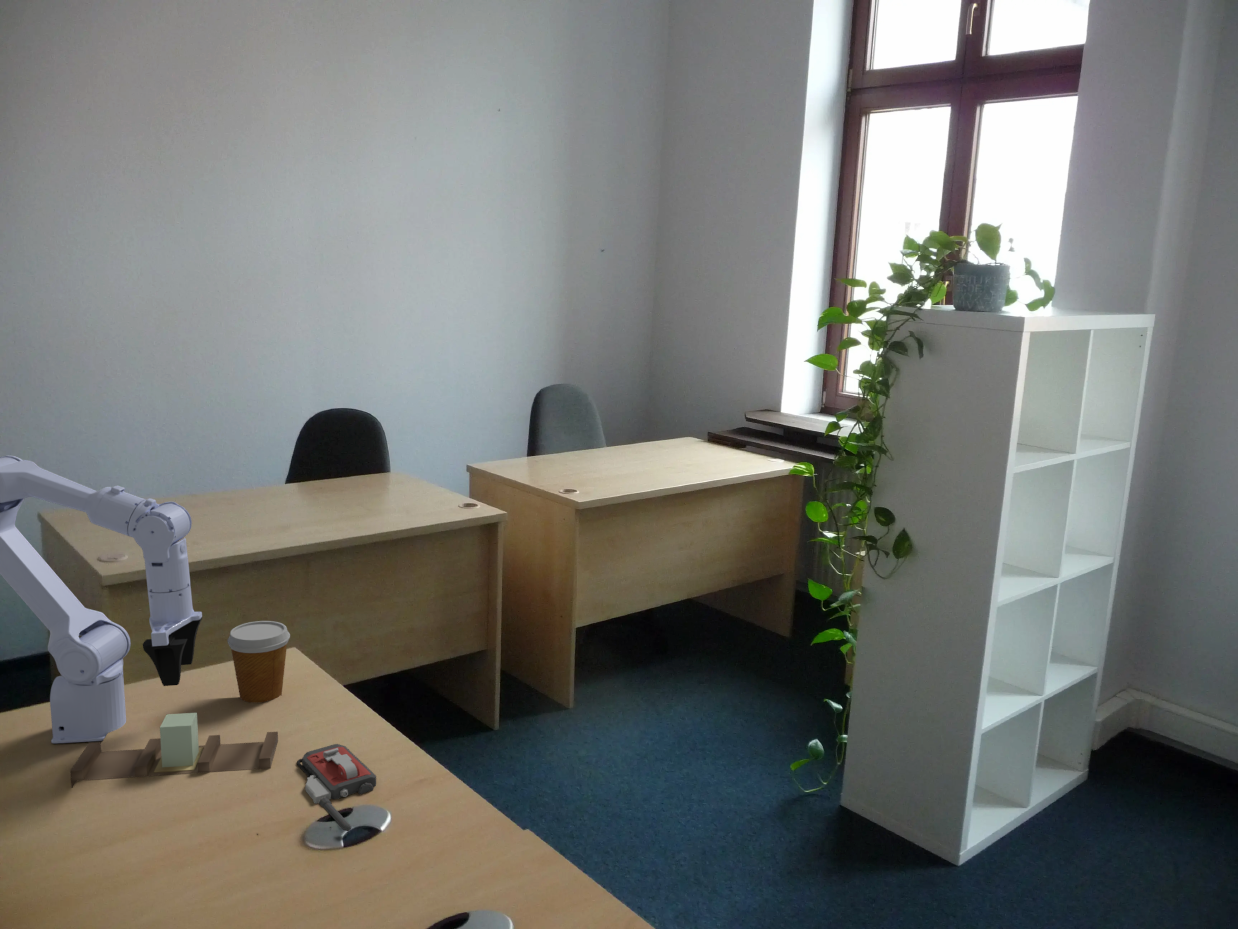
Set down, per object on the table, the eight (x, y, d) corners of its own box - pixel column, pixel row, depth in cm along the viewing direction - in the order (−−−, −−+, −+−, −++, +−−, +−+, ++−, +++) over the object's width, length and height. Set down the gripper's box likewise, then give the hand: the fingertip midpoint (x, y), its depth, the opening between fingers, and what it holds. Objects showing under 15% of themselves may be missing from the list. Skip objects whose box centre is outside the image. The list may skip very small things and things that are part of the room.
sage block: (162, 767, 135) (159, 727, 133) (168, 753, 138) (166, 714, 137) (193, 765, 135) (191, 725, 134) (198, 751, 139) (196, 712, 138)
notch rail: (71, 788, 131) (70, 770, 130) (90, 758, 138) (88, 742, 138) (270, 774, 136) (270, 758, 135) (278, 747, 144) (277, 731, 143)
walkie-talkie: (282, 775, 137) (340, 842, 121) (281, 746, 136) (339, 810, 121) (341, 757, 142) (404, 819, 127) (341, 729, 141) (404, 789, 126)
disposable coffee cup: (228, 692, 161) (225, 623, 159) (288, 684, 165) (286, 617, 163) (232, 716, 153) (228, 644, 150) (295, 707, 157) (293, 637, 154)
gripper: (185, 601, 135) (194, 692, 138) (209, 570, 149) (217, 653, 152) (131, 604, 134) (141, 696, 137) (160, 573, 148) (169, 657, 151)
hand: (178, 674), depth 144 cm, fingers open, 7 cm apart
